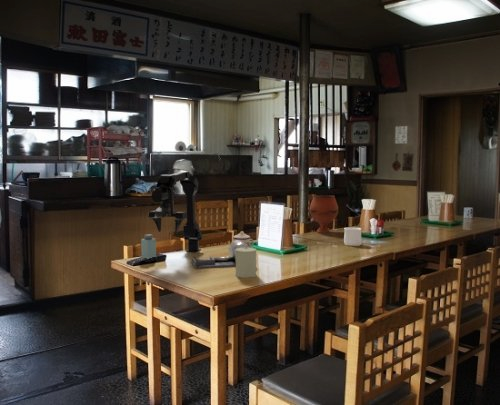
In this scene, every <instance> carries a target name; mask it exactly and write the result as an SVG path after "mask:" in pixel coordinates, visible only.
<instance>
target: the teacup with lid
mask: <svg viewBox="0 0 500 405" xmlns="http://www.w3.org/2000/svg"><path fill="white" fill-rule="evenodd" d="M235 240H240V241H242V242H244V243H245V244H247V245H248V246H249V247H251V248H253V246H254V239H252V238H251V236H250V235H248V234H246V233H245V232H244V231H240V232H239V233H237V234H236V235H234V236H233V241H235ZM250 243H251V244H250Z"/></svg>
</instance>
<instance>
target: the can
mask: <svg viewBox="0 0 500 405" xmlns="http://www.w3.org/2000/svg"><path fill="white" fill-rule="evenodd" d="M234 275H235V277H237V278H240V277H241V278H243V279H247V278H248V279H249V278H250V277H251V278H255V277H256V276H257V248H254V247H251V248H247V247H244V248H237V249H236V266H235V274H234Z"/></svg>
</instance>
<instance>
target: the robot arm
mask: <svg viewBox="0 0 500 405" xmlns="http://www.w3.org/2000/svg"><path fill="white" fill-rule="evenodd" d="M177 182H179V184H180V185H181V187H182V192H183V193H184V194H185V202H186V204H185V206H186V211H177V212H176V210H175V209H174V205H175V204H176V202H174V191H176V189H175V186H176V185H177ZM154 189H155V190H153V191H152V193H151V196H150V197H151V200H152V201H153V202H155V203H159V207H157V208H156V209H155V210H150V211H149V212H148V213H147V216H148V218H150V220H153V222H154V223H155V225H156V228H157V230H158V232H161V231H162V218H166V217H170V218H174V222H175V223H174V225H175V228H174V229H175V230H174V231H175V233H176V234H177V233H178V232H179V229H180V227H181V225H182V222H183V221H184V220H185V219H186V222H185V224H184V225H183V227H182V228H183V231H182V233H183V238H184V241H187V249H186V250H185V252H190V253H191V252H193V253H197V252H199V251H202V249H201V248H200V245H199V244H200V243H199V242H200V241H202V240H203V234H202V232H201V230H200V225H199V224H198V222H197V218H196V217H197V216H196V212H197V211H196V194H197V192H198V190H199V181H198V179H197V177H196V176H195V175H193V174H192V173H191V172H190V171H189V170H179V171H178V172H175V173H172V174H160V176H159V177H158V180H157V183H156V186H155V188H154Z"/></svg>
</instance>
